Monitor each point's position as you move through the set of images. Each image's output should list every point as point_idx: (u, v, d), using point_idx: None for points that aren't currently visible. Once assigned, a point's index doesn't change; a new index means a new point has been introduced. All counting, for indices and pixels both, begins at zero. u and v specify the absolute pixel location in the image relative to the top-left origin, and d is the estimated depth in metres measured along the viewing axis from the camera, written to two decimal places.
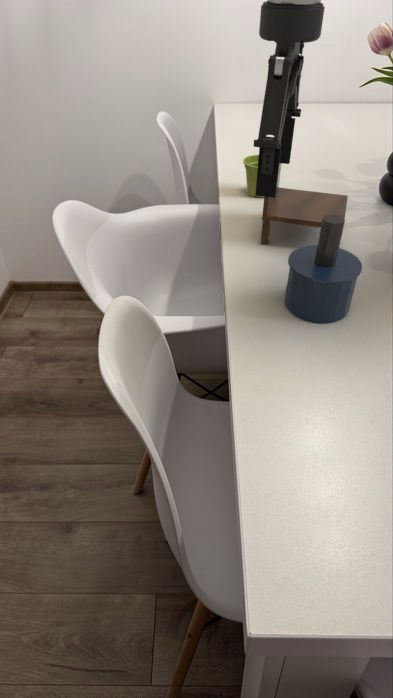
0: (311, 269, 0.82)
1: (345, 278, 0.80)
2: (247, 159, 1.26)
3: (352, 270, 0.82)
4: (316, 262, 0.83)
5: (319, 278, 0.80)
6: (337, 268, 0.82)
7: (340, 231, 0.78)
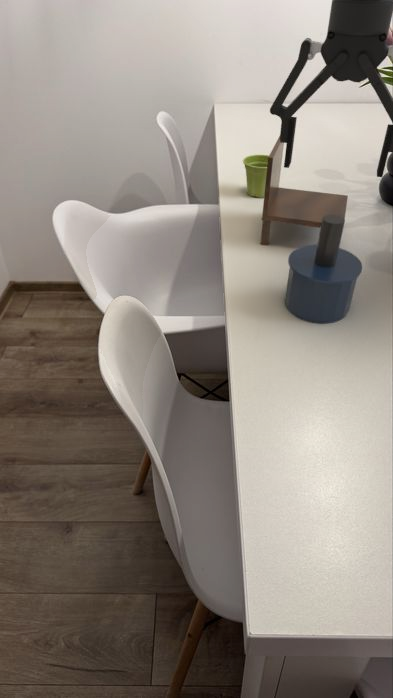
0: (311, 269, 0.82)
1: (345, 278, 0.80)
2: (247, 159, 1.26)
3: (352, 270, 0.82)
4: (316, 262, 0.83)
5: (319, 278, 0.80)
6: (337, 268, 0.82)
7: (340, 231, 0.78)
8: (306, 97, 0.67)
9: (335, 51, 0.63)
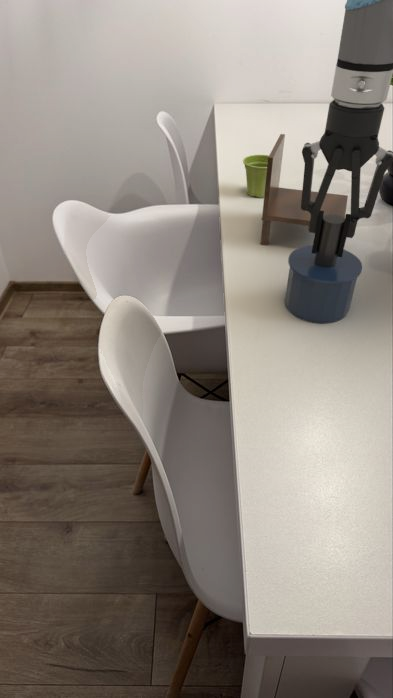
0: (311, 269, 0.82)
1: (345, 278, 0.80)
2: (247, 159, 1.26)
3: (352, 270, 0.82)
4: (316, 262, 0.83)
5: (319, 278, 0.80)
6: (337, 268, 0.82)
7: (340, 231, 0.78)
8: (324, 192, 0.75)
9: (332, 145, 0.71)
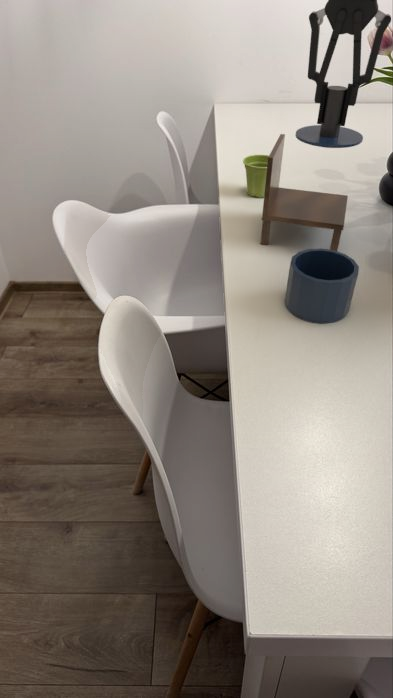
0: (317, 138, 0.90)
1: (348, 143, 0.88)
2: (247, 159, 1.26)
3: (354, 139, 0.90)
4: (321, 134, 0.91)
5: (324, 143, 0.88)
6: (340, 138, 0.90)
7: (343, 98, 0.87)
8: (329, 58, 0.83)
9: (336, 9, 0.79)
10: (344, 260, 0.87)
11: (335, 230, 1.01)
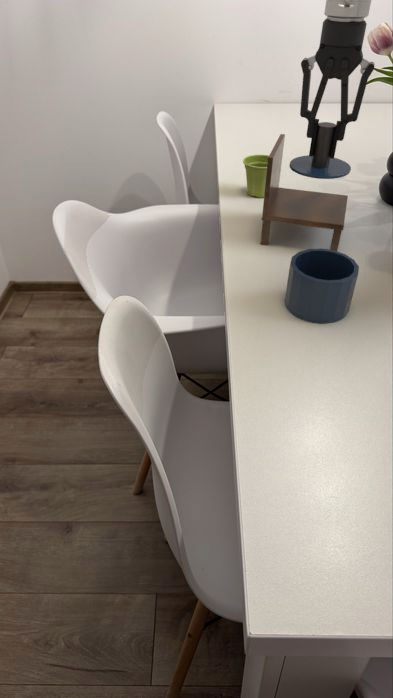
0: (308, 169, 0.99)
1: (336, 175, 0.97)
2: (247, 159, 1.26)
3: (342, 170, 0.99)
4: (312, 164, 1.00)
5: (315, 174, 0.97)
6: (330, 169, 0.99)
7: (332, 134, 0.96)
8: (319, 99, 0.92)
9: (325, 57, 0.88)
10: (344, 260, 0.87)
11: (335, 230, 1.01)
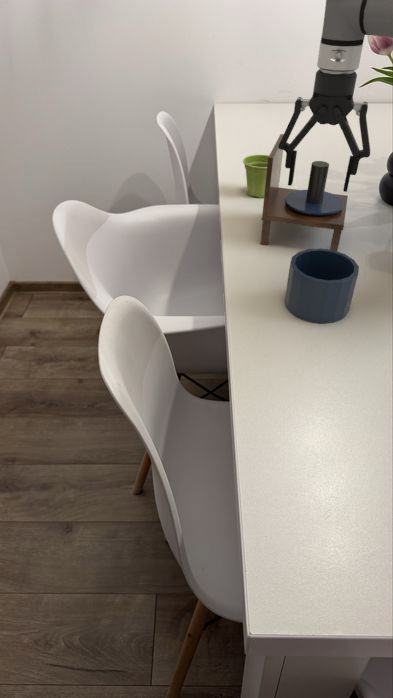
0: (303, 205, 1.04)
1: (329, 211, 1.02)
2: (247, 159, 1.26)
3: (335, 206, 1.04)
4: (307, 200, 1.05)
5: (309, 211, 1.02)
6: (323, 204, 1.04)
7: (325, 173, 1.01)
8: (302, 137, 0.97)
9: (318, 105, 0.93)
10: (344, 260, 0.87)
11: (335, 230, 1.01)
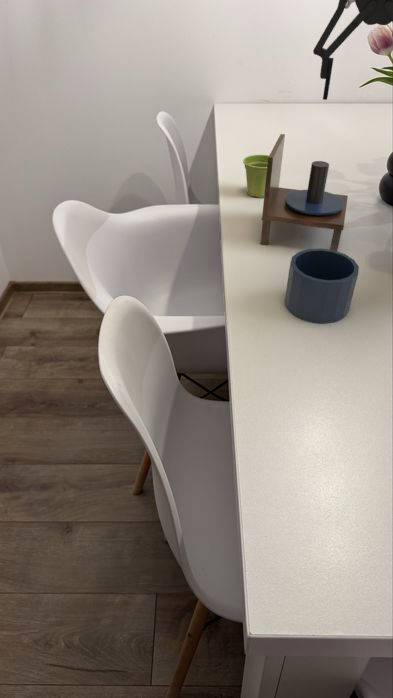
0: (303, 205, 1.04)
1: (329, 211, 1.02)
2: (247, 159, 1.26)
3: (335, 206, 1.04)
4: (307, 200, 1.05)
5: (309, 211, 1.02)
6: (323, 204, 1.04)
7: (325, 173, 1.01)
8: (342, 39, 0.85)
9: (367, 0, 0.81)
10: (344, 260, 0.87)
11: (335, 230, 1.01)
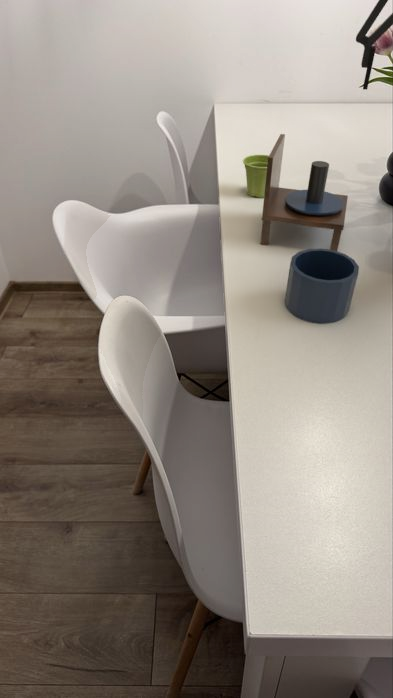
0: (303, 205, 1.04)
1: (329, 211, 1.02)
2: (247, 159, 1.26)
3: (335, 206, 1.04)
4: (307, 200, 1.05)
5: (309, 211, 1.02)
6: (323, 204, 1.04)
7: (325, 173, 1.01)
8: (387, 26, 0.83)
9: None
10: (344, 260, 0.87)
11: (335, 230, 1.01)
